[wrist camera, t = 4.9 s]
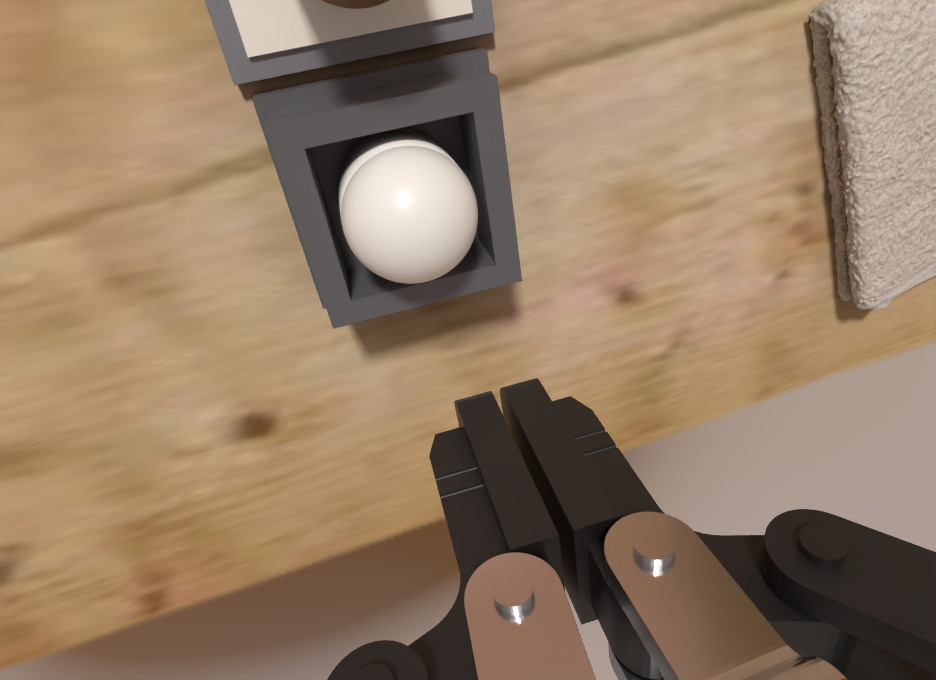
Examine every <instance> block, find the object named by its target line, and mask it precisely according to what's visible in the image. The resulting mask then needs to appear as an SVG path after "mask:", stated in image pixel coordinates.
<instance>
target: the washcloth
mask: <svg viewBox="0 0 936 680" xmlns="http://www.w3.org/2000/svg"><path fill="white" fill-rule="evenodd" d="M808 16H809V17H810V19H811V22H810V24H809V28H810V29H811V31H812V39H813V54H814V58H815V60H814V62H813V66H814V67H816V74H817V77H816V79H815V83H816V87H817V91H818V96H819V106H820V108H821V112H822V116H821V118H820V121H822V128H821V130H822V134H823V136H822V146H823V147H824V149H825V153H824V156H825V158H824V161H823V162H824V163H825V170H827V172H826V174H827V177H828V180H829V184H828V187H829V192H830V194H831V195H832V199H831V207H832V210H831V217H832V218H833V220H834V228H835V236H834V242H835V245H836V246H835V257H836V261H837V266H836V269H837V273H838V274H837V282H838V287H837V292H838V294H839V299H841V300H843V301H848V302H849V301H852V300H853V302H854V303H855V307H856V308H858V309H861V310H864V309H871V308H876V309H884V308H886V307H887V306H888V304H889V303H890V302H891V301H892V300H893V299H894V298H895V297H896V296H898V295H900V294H902V293H904V292H906V291H907V290H909V289H911V288H912V287H913V286H915V285H917V284H919V283H921V282H923V281H926V280H928V279H930V278H932V277H934V276H936V0H824V1H823V2H822V3H820V4H819V5H818V6H817V7H816V8H815V9H814V11H813V13H812V14H809V15H808Z"/></svg>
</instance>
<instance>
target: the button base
mask: <svg viewBox="0 0 936 680" xmlns="http://www.w3.org/2000/svg"><path fill="white" fill-rule="evenodd" d="M252 100H253V103H254V106H255V109H256V112H257V115H258V118H259V121H260V124H261V126H262V129H263V132H264V135H265V138H266V141H267V144H268V147H269V150H270V153H271V156H272V159H273V162H274V165H275V168H276V171H277V174H278V177H279V180H280V183H281V185H282V188H283V191H284V194H285V197H286V200H287V203H288V206H289V209H290V212H291V215H292V218H293V221H294V224H295V227H296V230H297V233H298V236H299V239H300V242H301V244H302V247H303V250H304V253H305V256H306V259H307V262H308V265H309V268H310V271H311V274H312V277H313V280H314V283H315V286H316V289H317V292H318V295H319V298H320V301H321V303H322V306H323V308H326V309H327V312H328V315H329V318H330V321H331V324H332V327H333V329H334V328H338V327H342V326H346V325H350V324H354V323H358V322H361V321H365V320H369V319H373V318H377V317H381V316H385V315H389V314H393V313H397V312H401V311H405V310H409V309H413V308H417V307H421V306H424V305H428V304H432V303H436V302H440V301H444V300H448V299H452V298H456V297H460V296H464V295H468V294H472V293H476V292H480V291H484V290H487V289H491V288H495V287H499V286H503V285H507V284H511V283H515V282H519V281H522V277H521V269H520V261H519V253H518V245H517V236H516V228H515V220H514V212H513V203H512V195H511V187H510V179H509V171H508V162H507V154H506V146H505V138H504V130H503V121H502V113H501V105H500V97H499V88H498V80H497V75H494V74H492V73H490V71H489V63H488V55H487V50H486V49H483V48H476V49H471V50H466V51H461V52H456V53H452V54H447V55H442V56H437V57H432V58H427V59H423V60H418V61H413V62H408V63H403V64H398V65H394V66H389V67H384V68H379V69H374V70H369V71H365V72H360V73H355V74H350V75H345V76H340V77H336V78H331V79H326V80H321V81H316V82H311V83H307V84H302V85H297V86H292V87H287V88H282V89H278V90H273V91H268V92H263V93H258V94H254V96H253V97H252ZM393 129H409V130H413V131H417V132H420V133H422V134H425V135H427V136H429V137H430V138H432V139H433V140H435V141H436V142H437V143H439V144H440V145H441V146H442V147H443V148H444V149H445V151H446V152H447V153H448V154H449V155H450V156H451V158H452V159H453V160H454V161H455V162H456V164H457V165H458V166H459V167H460V168H461V170H462V171H463V172H464V174H465V175H466V176H467V178H468V180H469V182H470V184H471V186H472V188H473V191H474V193H475V197H476V201H477V208H478V224H477V229H476V233H475V237H474V240H473V242H472V245H471V247H470V249H469V250H468V252H467V254H466V255H465V257H464V258H463V259H462V260H461V262H460V263H458V264H457V265H456V266H455V267H454V268H453V269H452V270H450V271H449V272H448V273H446V274H444V275H443V276H441V277H439V278H436V279H434V280H431V281H427V282H423V283H414V284H407V283H398V282H394V281H390V280H387V279H385V278H383V277H381V276H379V275H377V274H375V273H373V272H372V271H370V270H369V269H368V268H367V267H365V266H364V265H363V264H362V263H361V262H360V261H359V260H358V258H357V257H356V256H355V254H354V253H353V252H352V250H351V248H350V247H349V245H348V243H347V240H346V238H345V235H344V232H343V228H342V223H341V216H340V208H339V201H338V179H339V174H340V171H341V168H342V165H343V163H344V161H345V159H346V158H347V156H348V155H349V153H350V152H351V151H352V150H353V149H354V148H355V146H356V145H358V144H359V143H360V142H361V141H362V140H364V139H365V138H367V137H369V136H370V135H373V134H375V133H380V132H384V131H389V130H393Z"/></svg>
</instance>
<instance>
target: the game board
mask: <svg viewBox="0 0 936 680" xmlns="http://www.w3.org/2000/svg"><path fill="white" fill-rule="evenodd" d="M205 3H206V6H207V8H208V11H209V14H210V17H211V20H212V23H213V26H214V28H215V31H216V34H217V37H218V40H219V43H220V46H221V48H222V51H223V54H224V57H225V60H226V63H227V65H228V68H229V71H230V74H231V77H232V80H233V83H234V85H238V84H243V83H248V82H253V81H257V80H262V79H267V78H272V77H277V76H282V75H287V74H292V73H297V72H301V71H306V70H311V69H316V68H321V67H326V66H331V65H336V64H341V63H345V62H350V61H355V60H360V59H365V58H370V57H375V56H380V55H385V54H390V53H394V52H399V51H404V50H409V49H414V48H419V47H424V46H429V45H434V44H438V43H443V42H448V41H453V40H458V39H463V38H468V37H473V36H478V35H482V34H487V33H492V32H495V29H494V21H493V13H492V4H491V0H390V1H387V2H385V3H383V4H381V5H377V6H374V7H370V8H362V9H351V8H344V7H338V6H335V5H332V4H329V3H326V2H324V1H322V0H205Z"/></svg>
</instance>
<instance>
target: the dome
mask: <svg viewBox="0 0 936 680" xmlns="http://www.w3.org/2000/svg"><path fill="white" fill-rule="evenodd" d="M338 201H339V208H340V216H341V223H342V228H343V232H344V235H345V238H346V240H347V243H348V245H349V247H350V248H351V250H352V252H353V253H354V254H355V256H356V257H357V258H358V260H359V261H360V262H361V263H362V264H363V265H364V266H365V267H367V268H368V269H369V270H370V271H372V272H373V273H375V274H377V275H379V276H381V277H383V278H385V279H387V280H390V281H394V282H398V283H407V284H414V283H423V282H427V281H431V280H434V279H436V278H439V277H441V276H443V275H444V274H446V273H448V272H449V271H450V270H452V269H453V268H454V267H455V266H456V265H457V264H458V263H460V262H461V260H462V259H463V258H464V257H465V255H466V254H467V252H468V250H469V249H470V247H471V245H472V242H473V240H474V237H475V233H476V229H477V224H478V208H477V201H476V197H475V193H474V191H473V188H472V186H471V184H470V182H469V180H468V178H467V176H466V175H465V174H464V172H463V171H462V170H461V168H460V167H459V166H458V165H457V164H456V162H455V161H454V160H453V159H452V158H451V156H450V155H449V154H448V153H447V152H446V151H445V149H444V148H443V147H442V146H441V145H440V144H439V143H437V142H436V141H435V140H433V139H432V138H430V137H429V136H427V135H425V134H422V133H420V132H417V131H413V130H409V129H393V130H389V131H384V132H380V133H375V134H373V135H370V136H369V137H367V138H365V139H364V140H362V141H361V142H360V143H359V144H358V145H356V146H355V148H354V149H353V150H352V151H351V152H350V153H349V155H348V156H347V158H346V159H345V161H344V163H343V165H342V168H341V171H340V174H339V179H338Z"/></svg>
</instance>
